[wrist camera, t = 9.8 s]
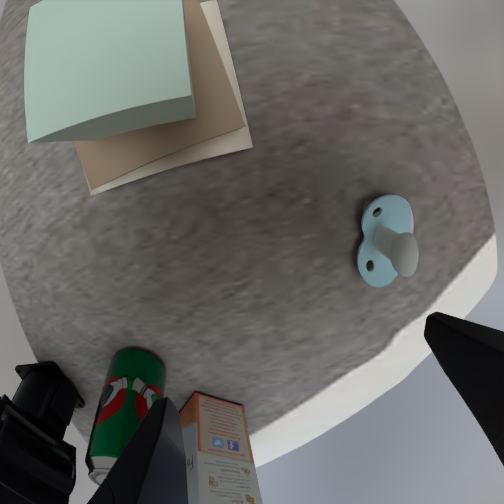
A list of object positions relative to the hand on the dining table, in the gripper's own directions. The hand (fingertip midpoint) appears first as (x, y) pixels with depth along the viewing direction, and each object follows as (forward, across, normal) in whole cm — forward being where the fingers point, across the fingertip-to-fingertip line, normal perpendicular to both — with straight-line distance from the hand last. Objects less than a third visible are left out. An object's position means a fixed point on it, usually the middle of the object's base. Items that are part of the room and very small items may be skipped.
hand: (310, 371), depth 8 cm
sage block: (+8, +4, -11) cm, 14 cm away
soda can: (+13, +12, +9) cm, 20 cm away
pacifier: (+13, -11, +2) cm, 17 cm away
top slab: (+11, +4, -11) cm, 16 cm away
